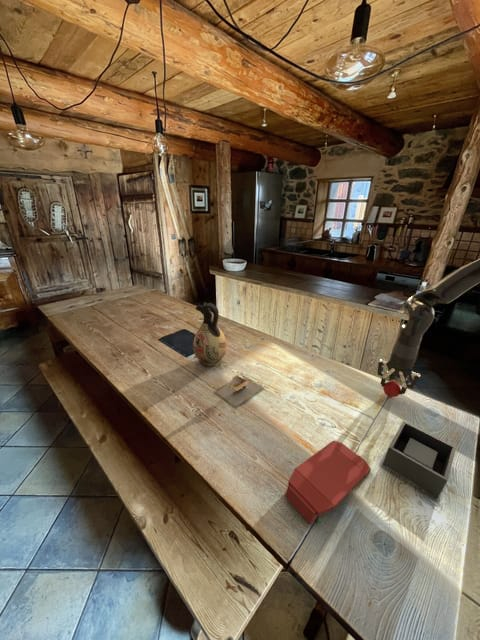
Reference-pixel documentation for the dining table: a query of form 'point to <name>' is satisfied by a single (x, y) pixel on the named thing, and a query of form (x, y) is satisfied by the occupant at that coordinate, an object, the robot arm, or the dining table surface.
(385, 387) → the onion
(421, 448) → the block
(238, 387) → the architectural model
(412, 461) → the crate
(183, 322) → the dining table surface
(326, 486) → the carton
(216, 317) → the ceramic jug
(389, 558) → the dining table surface
